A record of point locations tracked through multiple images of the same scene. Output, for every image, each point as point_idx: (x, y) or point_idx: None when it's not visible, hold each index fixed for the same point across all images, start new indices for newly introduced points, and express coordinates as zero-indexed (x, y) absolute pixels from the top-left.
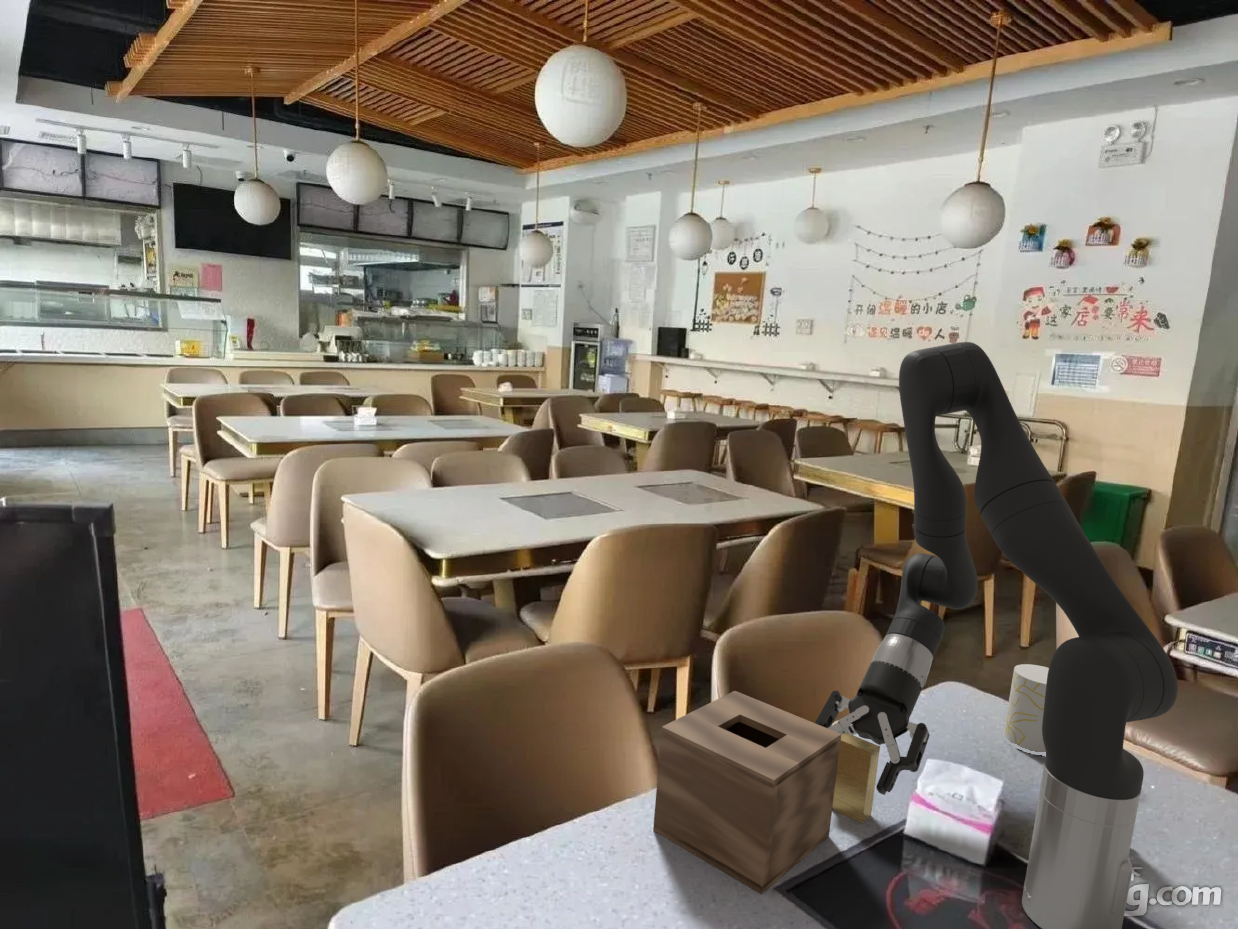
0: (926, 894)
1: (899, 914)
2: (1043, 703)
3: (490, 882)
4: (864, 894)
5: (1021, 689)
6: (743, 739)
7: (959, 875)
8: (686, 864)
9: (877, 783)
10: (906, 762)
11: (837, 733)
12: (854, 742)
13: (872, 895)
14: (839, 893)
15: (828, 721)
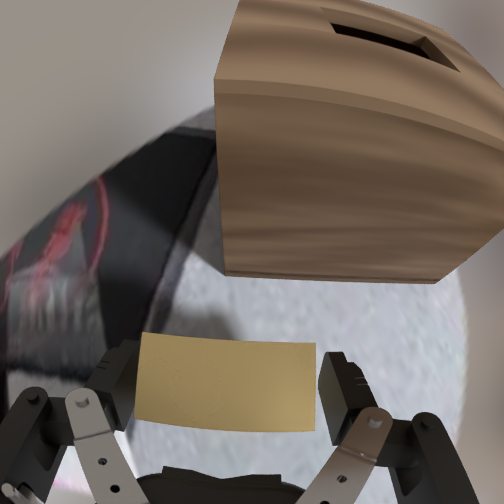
0: (62, 244)
1: (90, 187)
2: None
3: None
4: (133, 188)
5: None
6: (366, 15)
7: (27, 321)
8: None
9: (137, 343)
10: (44, 390)
11: (228, 74)
12: (237, 371)
13: (123, 193)
14: (162, 170)
15: (411, 484)
